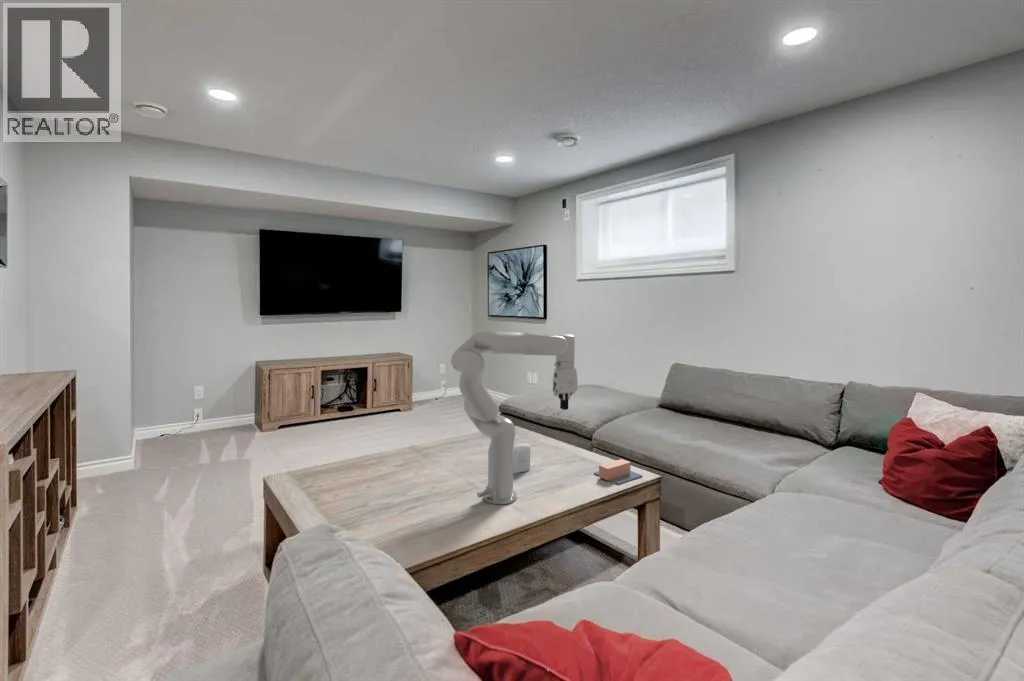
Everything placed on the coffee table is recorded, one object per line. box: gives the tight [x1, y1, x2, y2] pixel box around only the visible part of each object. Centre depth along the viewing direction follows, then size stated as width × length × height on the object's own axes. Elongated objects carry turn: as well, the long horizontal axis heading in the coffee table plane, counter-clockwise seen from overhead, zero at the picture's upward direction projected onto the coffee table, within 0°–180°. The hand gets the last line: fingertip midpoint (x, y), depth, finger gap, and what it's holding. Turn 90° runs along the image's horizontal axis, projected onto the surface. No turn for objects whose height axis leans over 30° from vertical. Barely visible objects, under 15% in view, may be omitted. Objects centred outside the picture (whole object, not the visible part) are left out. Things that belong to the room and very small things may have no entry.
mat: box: [593, 470, 643, 485], centre depth 207 cm, size 15×14×1 cm
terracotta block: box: [598, 458, 632, 481], centre depth 205 cm, size 5×5×14 cm
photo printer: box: [513, 442, 531, 475], centre depth 210 cm, size 10×4×12 cm, turn 123°
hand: (564, 408), depth 196 cm, fingers closed
